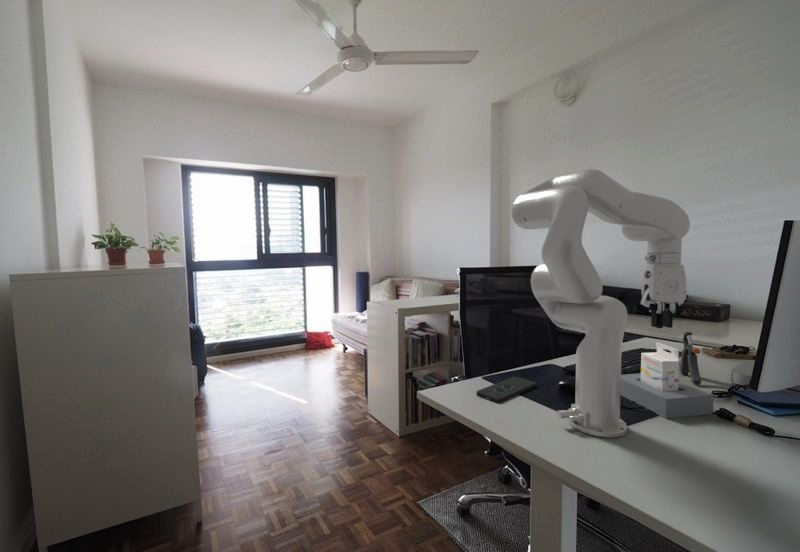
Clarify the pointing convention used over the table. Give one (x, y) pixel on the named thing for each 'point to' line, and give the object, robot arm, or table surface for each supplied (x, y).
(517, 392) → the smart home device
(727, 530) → the table surface
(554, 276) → the robot arm
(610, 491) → the table surface
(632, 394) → the cartridge dock
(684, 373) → the hand grip strengthener
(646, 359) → the ink cartridge box
